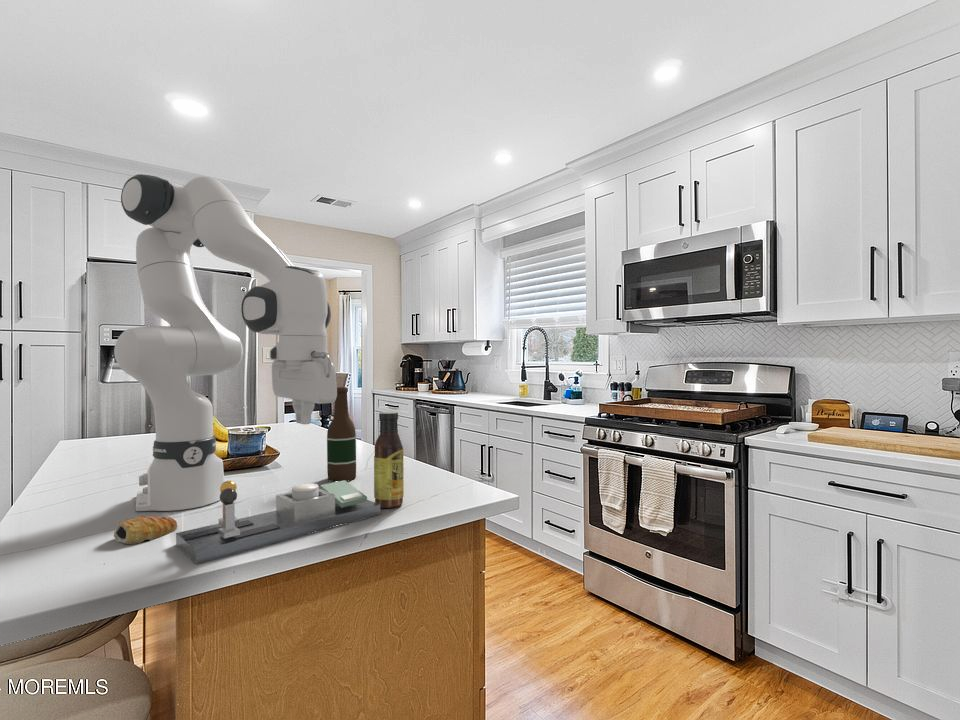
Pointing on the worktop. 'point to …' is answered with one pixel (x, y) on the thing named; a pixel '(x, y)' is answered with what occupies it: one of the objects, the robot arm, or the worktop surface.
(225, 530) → the slider
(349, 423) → the beer bottle
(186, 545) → the board
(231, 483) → the slider
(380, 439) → the sauce bottle
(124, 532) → the pastry
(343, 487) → the rocker
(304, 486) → the button
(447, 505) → the worktop surface
